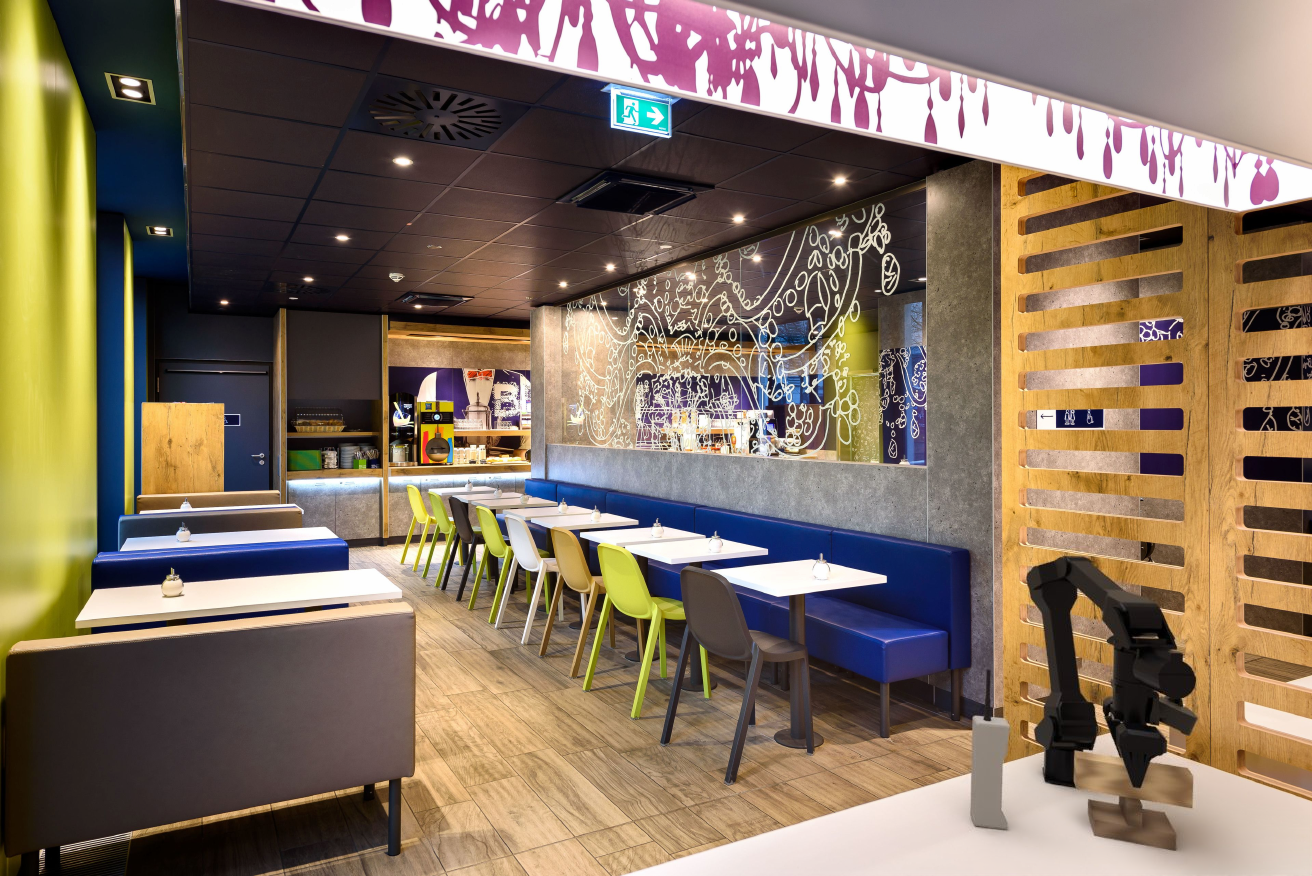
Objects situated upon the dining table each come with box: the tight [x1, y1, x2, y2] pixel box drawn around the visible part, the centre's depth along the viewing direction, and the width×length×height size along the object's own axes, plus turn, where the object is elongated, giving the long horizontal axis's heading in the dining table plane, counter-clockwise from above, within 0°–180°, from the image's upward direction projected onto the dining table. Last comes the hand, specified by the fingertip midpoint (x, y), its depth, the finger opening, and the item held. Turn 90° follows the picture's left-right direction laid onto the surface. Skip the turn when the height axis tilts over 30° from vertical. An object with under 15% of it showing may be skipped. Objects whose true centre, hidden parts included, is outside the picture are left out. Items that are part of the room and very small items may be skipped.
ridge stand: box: [1087, 796, 1177, 851], centre depth 127 cm, size 11×8×6 cm
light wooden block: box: [1074, 751, 1194, 809], centre depth 127 cm, size 16×4×5 cm, turn 68°
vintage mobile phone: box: [969, 668, 1011, 830], centre depth 128 cm, size 4×5×25 cm
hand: (1131, 776), depth 127 cm, fingers open, 9 cm apart
